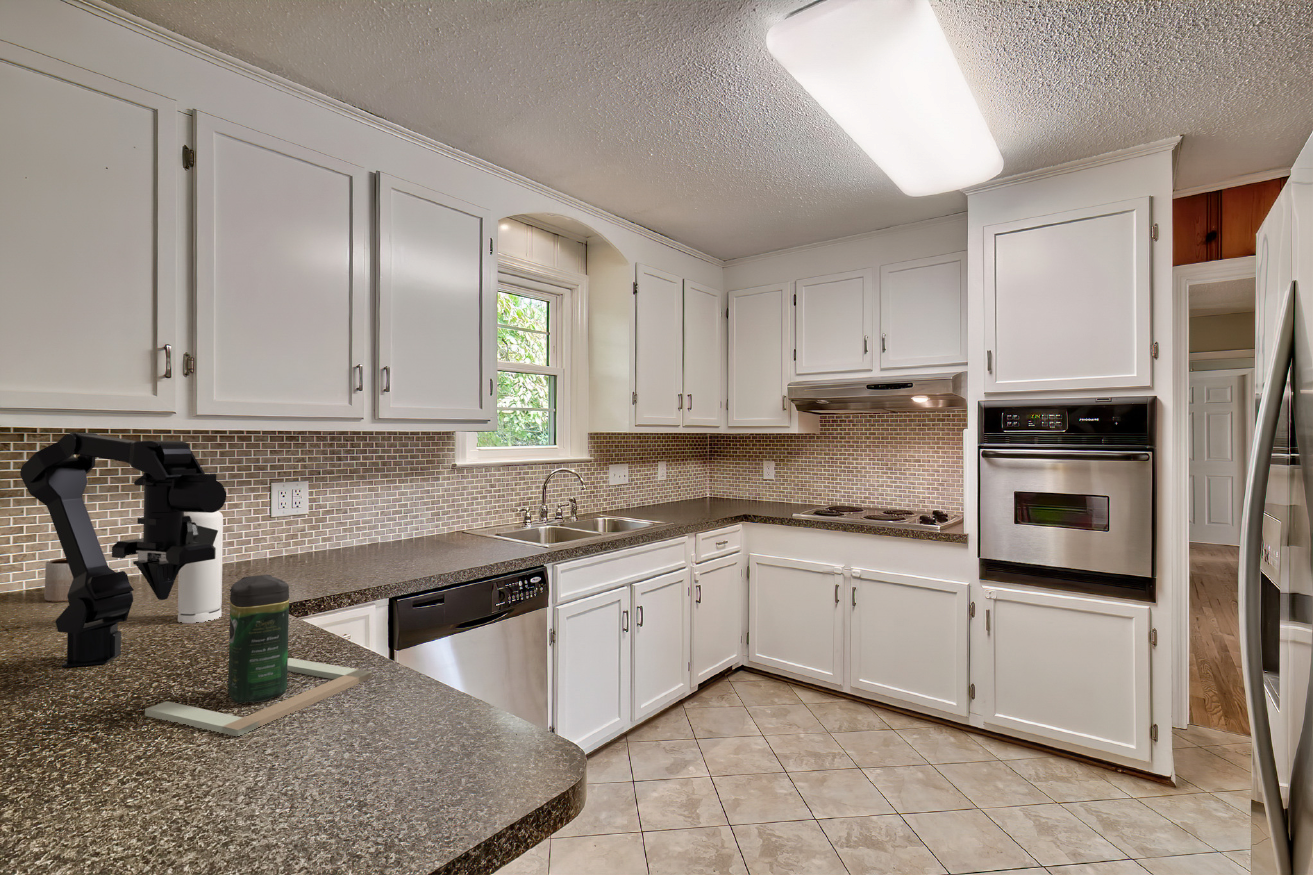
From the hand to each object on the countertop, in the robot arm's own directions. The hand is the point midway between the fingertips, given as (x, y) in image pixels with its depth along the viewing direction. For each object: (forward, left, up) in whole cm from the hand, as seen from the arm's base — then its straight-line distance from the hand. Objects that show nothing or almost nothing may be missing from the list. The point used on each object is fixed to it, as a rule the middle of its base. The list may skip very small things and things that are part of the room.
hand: (162, 599), depth 114 cm
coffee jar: (+19, -19, -12) cm, 29 cm away
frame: (+20, -20, -12) cm, 31 cm away
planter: (-40, +67, -12) cm, 79 cm away
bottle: (-4, +35, -12) cm, 37 cm away
